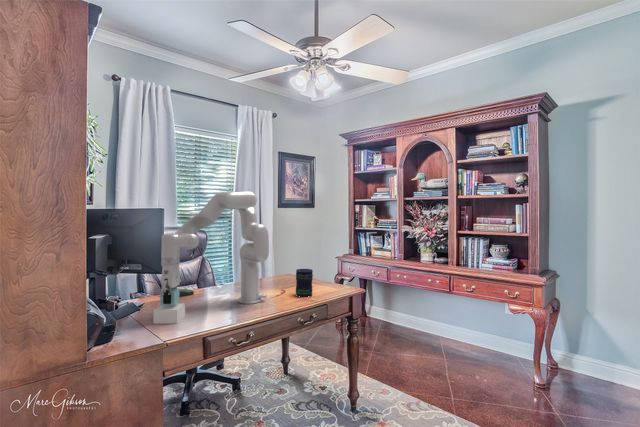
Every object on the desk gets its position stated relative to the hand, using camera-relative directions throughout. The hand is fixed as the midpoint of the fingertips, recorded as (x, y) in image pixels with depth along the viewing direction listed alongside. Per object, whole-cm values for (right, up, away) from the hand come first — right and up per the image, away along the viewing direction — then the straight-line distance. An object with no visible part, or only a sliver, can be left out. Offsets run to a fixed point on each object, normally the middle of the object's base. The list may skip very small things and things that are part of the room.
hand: (170, 301), depth 150 cm
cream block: (0, -8, 0) cm, 8 cm away
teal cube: (0, -1, 0) cm, 1 cm away
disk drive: (-15, -8, +42) cm, 45 cm away
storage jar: (+58, -9, +47) cm, 75 cm away
